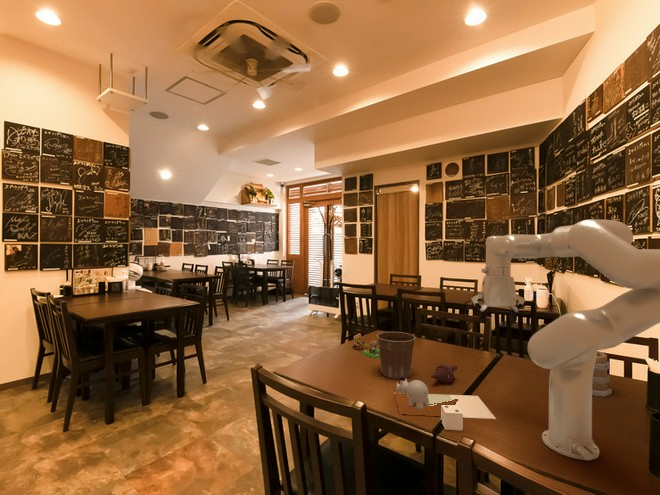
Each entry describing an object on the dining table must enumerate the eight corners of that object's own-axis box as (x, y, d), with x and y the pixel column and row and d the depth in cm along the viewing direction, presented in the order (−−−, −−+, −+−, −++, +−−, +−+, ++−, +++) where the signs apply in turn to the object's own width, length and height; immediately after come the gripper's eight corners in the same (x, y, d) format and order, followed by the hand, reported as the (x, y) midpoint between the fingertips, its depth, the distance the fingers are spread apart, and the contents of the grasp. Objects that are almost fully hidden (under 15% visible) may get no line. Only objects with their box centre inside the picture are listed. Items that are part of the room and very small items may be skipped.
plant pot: (380, 365, 152) (380, 329, 152) (417, 369, 147) (417, 333, 147) (372, 378, 137) (373, 339, 137) (413, 384, 131) (413, 343, 131)
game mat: (496, 419, 105) (496, 418, 105) (399, 414, 107) (399, 414, 107) (477, 396, 121) (477, 395, 121) (393, 393, 123) (393, 392, 123)
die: (462, 430, 98) (462, 413, 98) (445, 429, 99) (445, 412, 99) (457, 421, 103) (457, 405, 103) (440, 420, 104) (441, 404, 104)
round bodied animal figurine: (403, 394, 121) (403, 371, 121) (432, 406, 112) (432, 381, 112) (390, 400, 117) (390, 376, 117) (420, 413, 108) (420, 387, 108)
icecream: (441, 373, 125) (465, 369, 134) (426, 363, 131) (450, 359, 140) (436, 390, 126) (460, 384, 135) (422, 379, 132) (445, 374, 141)
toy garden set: (375, 360, 160) (375, 350, 160) (349, 350, 176) (349, 341, 176) (406, 351, 174) (406, 342, 174) (380, 342, 190) (380, 334, 190)
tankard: (599, 384, 132) (599, 346, 132) (617, 398, 120) (617, 356, 120) (542, 378, 137) (542, 342, 137) (553, 391, 125) (554, 351, 125)
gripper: (475, 272, 110) (475, 324, 110) (530, 273, 109) (530, 326, 109) (468, 271, 118) (467, 319, 118) (519, 271, 116) (518, 320, 116)
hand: (497, 322), depth 113 cm, fingers open, 9 cm apart
